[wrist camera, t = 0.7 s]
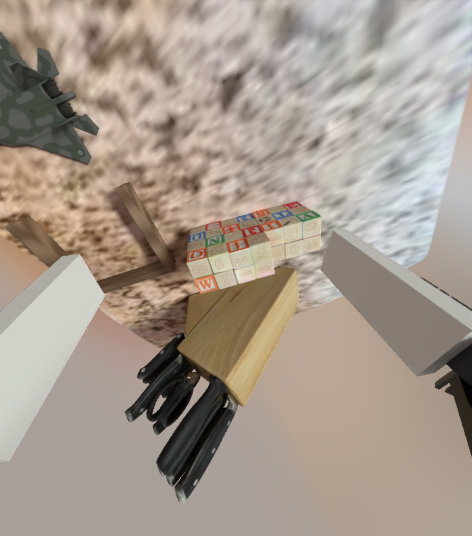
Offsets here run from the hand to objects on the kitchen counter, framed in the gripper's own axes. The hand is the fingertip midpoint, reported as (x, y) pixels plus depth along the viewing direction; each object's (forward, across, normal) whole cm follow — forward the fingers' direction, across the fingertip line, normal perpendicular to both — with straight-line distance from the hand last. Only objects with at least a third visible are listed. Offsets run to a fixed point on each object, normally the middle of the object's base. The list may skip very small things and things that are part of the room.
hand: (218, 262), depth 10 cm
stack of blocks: (+26, +7, -10) cm, 28 cm away
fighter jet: (+26, -23, +7) cm, 36 cm away
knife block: (+25, +2, -29) cm, 38 cm away
